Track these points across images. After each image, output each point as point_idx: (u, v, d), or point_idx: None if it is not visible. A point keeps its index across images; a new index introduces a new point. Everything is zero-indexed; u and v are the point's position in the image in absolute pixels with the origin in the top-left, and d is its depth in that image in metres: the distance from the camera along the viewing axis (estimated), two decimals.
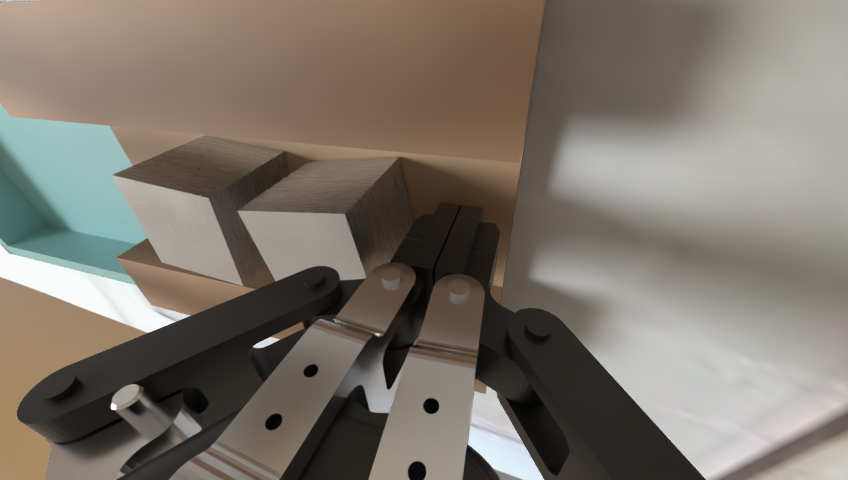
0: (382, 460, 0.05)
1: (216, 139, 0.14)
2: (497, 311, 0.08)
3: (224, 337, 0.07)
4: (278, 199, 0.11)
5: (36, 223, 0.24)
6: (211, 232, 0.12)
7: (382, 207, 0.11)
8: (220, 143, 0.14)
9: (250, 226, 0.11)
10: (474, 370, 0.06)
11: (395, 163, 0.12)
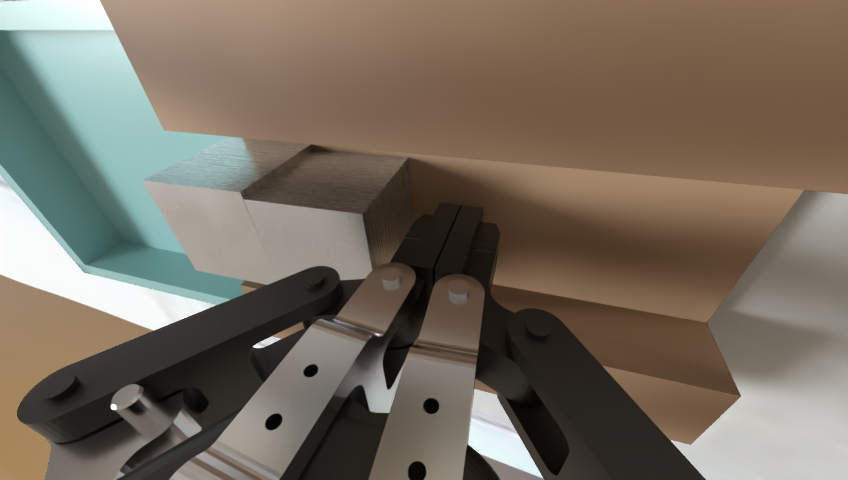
0: (382, 460, 0.05)
1: (241, 140, 0.14)
2: (497, 311, 0.08)
3: (224, 337, 0.07)
4: (287, 190, 0.11)
5: (111, 239, 0.22)
6: (245, 231, 0.11)
7: (391, 207, 0.11)
8: (246, 143, 0.14)
9: (255, 216, 0.11)
10: (474, 370, 0.06)
11: (405, 163, 0.12)
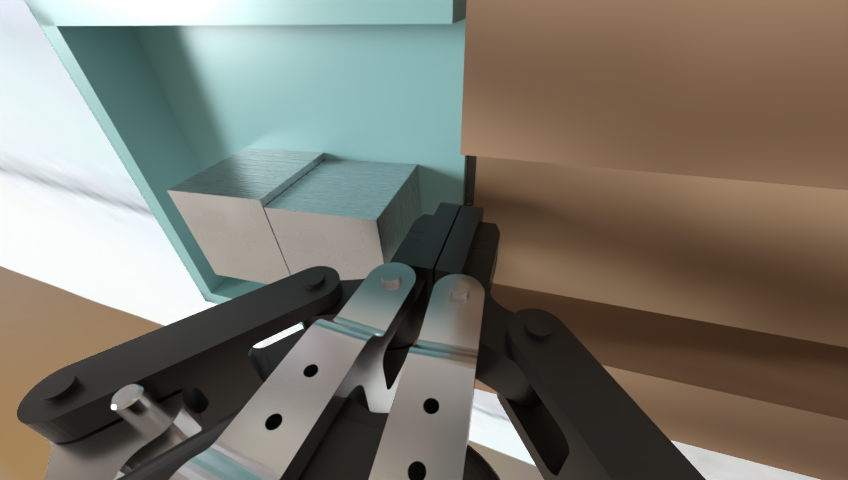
0: (382, 460, 0.05)
1: (257, 150, 0.15)
2: (497, 311, 0.08)
3: (224, 337, 0.07)
4: (304, 198, 0.11)
5: None
6: (263, 236, 0.12)
7: (402, 212, 0.12)
8: (261, 153, 0.14)
9: (275, 223, 0.11)
10: (474, 370, 0.06)
11: (414, 170, 0.13)
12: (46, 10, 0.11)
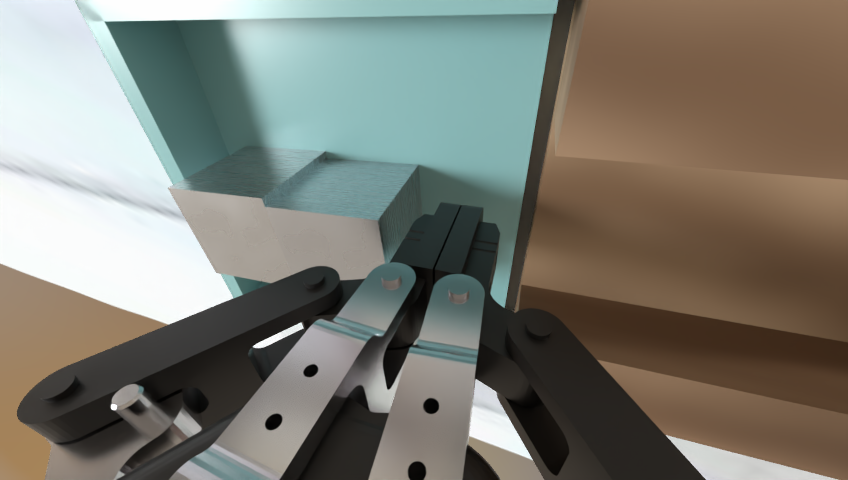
0: (382, 460, 0.05)
1: (258, 148, 0.14)
2: (497, 311, 0.08)
3: (224, 337, 0.07)
4: (305, 198, 0.11)
5: None
6: (265, 234, 0.12)
7: (403, 212, 0.12)
8: (263, 151, 0.14)
9: (276, 222, 0.11)
10: (474, 370, 0.06)
11: (416, 170, 0.13)
12: (94, 4, 0.10)
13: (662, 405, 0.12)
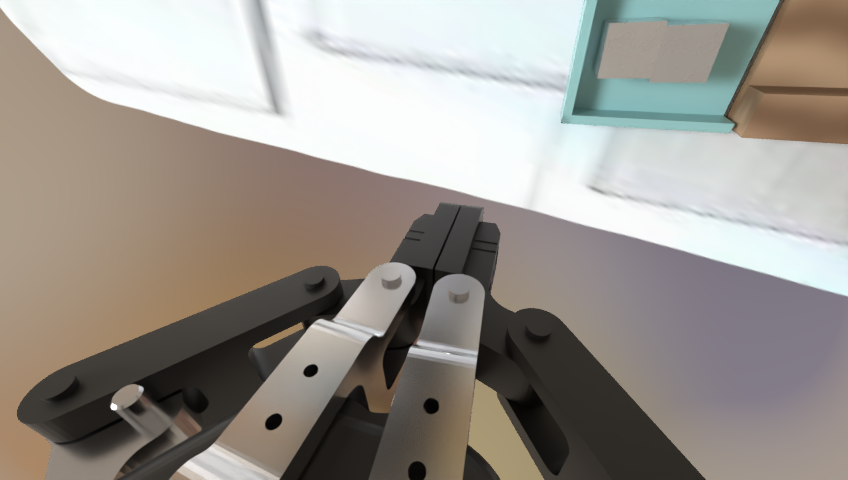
0: (382, 460, 0.05)
1: (614, 19, 0.29)
2: (497, 311, 0.08)
3: (224, 337, 0.07)
4: (679, 24, 0.26)
5: None
6: (654, 43, 0.26)
7: None
8: (620, 19, 0.29)
9: (667, 34, 0.26)
10: (474, 370, 0.06)
11: (711, 20, 0.27)
12: None
13: (834, 119, 0.26)
